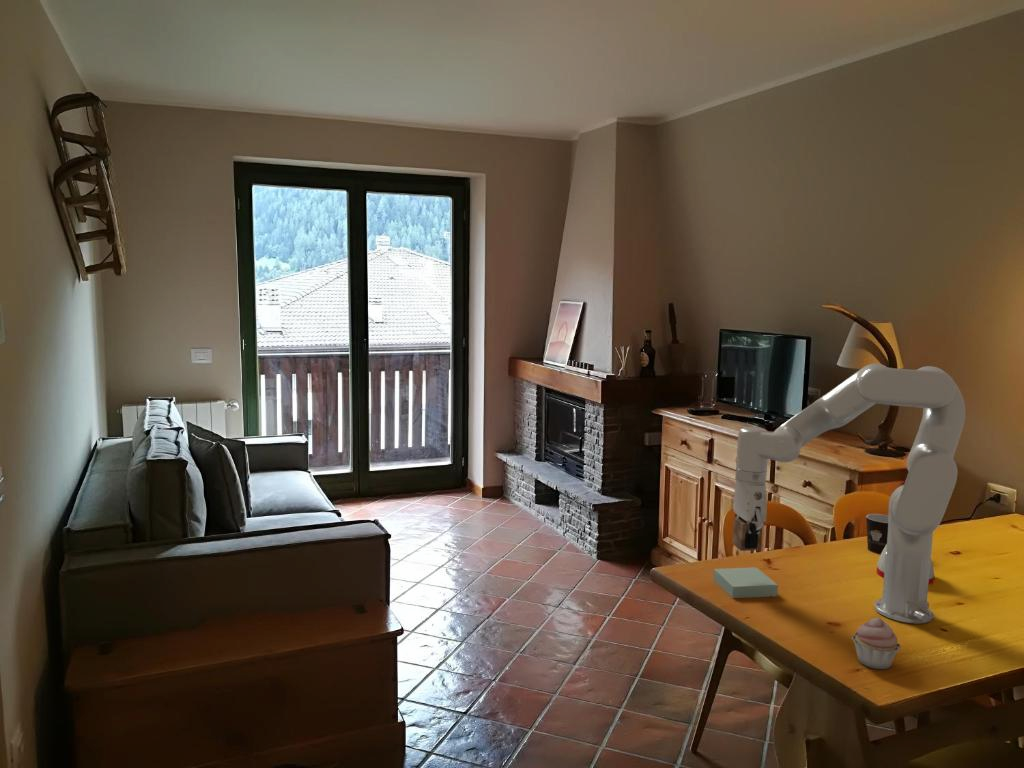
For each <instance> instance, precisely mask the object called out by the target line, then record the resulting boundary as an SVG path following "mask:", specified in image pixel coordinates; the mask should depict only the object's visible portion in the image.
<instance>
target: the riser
mask: <svg viewBox="0 0 1024 768" xmlns="http://www.w3.org/2000/svg"><path fill="white" fill-rule="evenodd" d="M712 580H713V581H714V582H715V583H716V584H717V585H718V586H719V587H720V588H721V589H722V590H723V591H725V593H726V594H727V595H728V596H730V597H731V599H743V598H744V599H745V598H767V597H769V598H770V596H772V597H778V589H779V585H778V583H776V582H775V581H774V580H773V579H771V578H770V577H769V576H768V575H767V574H765V573H764V572H763V571H761V570H760V569H759V568H758V567H733V568H732V567H731V568H714V569H713V579H712Z"/></svg>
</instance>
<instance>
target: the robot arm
mask: <svg viewBox="0 0 1024 768" xmlns="http://www.w3.org/2000/svg"><path fill="white" fill-rule="evenodd" d="M877 404H878V405H885V406H886V405H887V406H895V407H896V406H897V407H909V408H922V409H923V410H922V418H921V420H920V424H919V427H918V431H917V434H916V435H915V439H914V441H913V444H912V446H911V449H910V452H909V454H908V456H907V458H906V462H905V463H906V469H907V471H908V473H907V476H906V478H905V481H904V484H902V485H900V486H898V487H897V488H896V489H894V491H893V492H892V494H891V495H890V497H889V501H888V537H887V548H886V559H885V571H884V578H883V583H882V584H883V585H882V594H881V595H882V596H881V598H879V599H878V598H877V600H875V601H874V610H875V611H876V612H877V613H878V614H880V615H882V616H883V617H886V618H888V619H891V620H895V621H898V622H902V623H908V624H925V623H930V622H931V621H933V619H934V617H935V614H934V613H933V611H932V610H931V609H930V608H929V607H930V602H928V594H929V593H928V592H929V585H928V584H929V573H930V562H931V560H932V550H933V537H934V532H935V531H936V530H937V529H938V527H939V526H940V524H941V523H942V519H943V518H944V515H945V514H946V511H947V508H948V506H949V505H948V504H949V502H950V499H951V498H952V494H953V493H954V490H955V487H956V484H957V479H958V466H957V464H956V461H955V460H954V457H955V453H956V450H957V447H958V445H959V442H960V438H961V435H962V432H963V428H964V425H965V421H966V404H965V400H964V397H963V395H962V392H961V390H960V388H959V386H958V385H957V384H956V382H955V381H954V379H953V377H952V376H950V374H949V373H947V372H946V371H944V370H943V369H941V368H939V367H937V366H931V365H927V366H922V367H920V368H918V369H908V368H906V369H905V368H894V367H887V366H886V365H885V364H882V363H875V362H874V363H870V364H867V365H865V366H864V367H862V368H860V369H858V371H856V372H854V373H853V374H852V375H851V376H849V377H848V378H846V379H845V380H843V381H842V382H841V383H839V384H838V385H837V386H835V387H834V388H832V389H831V390H830V391H829V392H826V393H825V394H824V395H822V396H821V397H819V398H818V399H817V400H815V401H814V402H812V403H811V404H810V405H808V406H807V407H804V409H802V410H801V411H800V412H798V413H797V414H795V415H793V416H792V417H791V418H790V419H788V420H787V421H786V422H784V423H782V424H781V425H780V426H779V427H777V428H776V429H775V430H773V432H769V431H768V430H767V429H765V428H762V427H759V426H758V427H757V426H745V427H741V428H740V429H739V431H738V434H737V435H738V436H737V448H736V449H737V450H736V464H735V477H734V478H735V484H734V485H735V486H734V493H733V501H732V502H733V505H732V507H733V513H735V515H734V518H743V519H744V520H745V521H747V533H746V535H745V548H746V549H751V548H757V546H758V534H759V531H760V529H761V530H762V528H763V527H764V523H766V521H767V507H768V506H767V505H768V504H767V503H768V502H767V501H768V500H767V499H768V497H767V486H766V483H767V472H768V460H772V461H776V462H780V463H791V462H793V461H795V460H797V458H798V457H799V456H800V454H801V453H800V452H801V448H802V447H804V446H805V445H807V444H808V443H810V442H811V441H813V440H814V439H815V438H817V437H819V436H820V435H822V434H823V433H825V432H827V431H830V430H834V429H838V428H841V427H844V426H845V425H847V424H848V423H850V422H851V421H853V420H854V419H856V418H857V417H858V416H859V415H861V414H863V413H864V412H865V411H867V410H869V409H870V408H871V407H873V406H875V405H877ZM752 519H755V521H752ZM751 524H755V525H753V526H752V527H751Z"/></svg>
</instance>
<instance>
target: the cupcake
mask: <svg viewBox="0 0 1024 768" xmlns="http://www.w3.org/2000/svg"><path fill="white" fill-rule="evenodd" d="M850 638H852V641H853V643H854V647H855V651H856V656H857V660H858V662H859V663H860V664H862V665H863V666H866V667H868V668H871V669H874V670H888V669H890V667H892V664H893V662H894V659H895V656H896V654H897V653H898V652H899V650H900V648H901V647H902V645H901V644H899V643H898V637H897V635H896V633H894V630H893V628H892V627H891V626H890V625H889V624H888V623H887V622H886V621H884V620H883V619H881V617H873V618H870V619H869V620H868V621H867V622H865V623H864V624H862V625H860V626H859V627H858V628H857V632H854V635H852V636H851V637H850Z"/></svg>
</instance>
